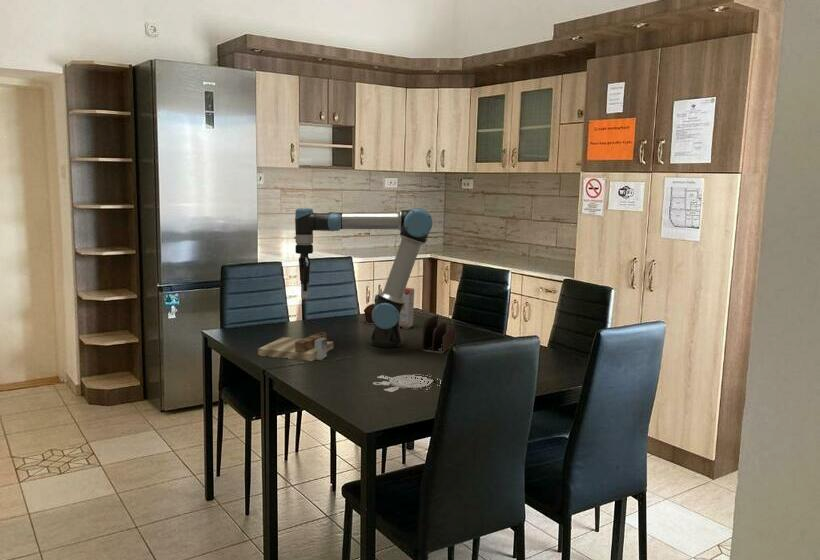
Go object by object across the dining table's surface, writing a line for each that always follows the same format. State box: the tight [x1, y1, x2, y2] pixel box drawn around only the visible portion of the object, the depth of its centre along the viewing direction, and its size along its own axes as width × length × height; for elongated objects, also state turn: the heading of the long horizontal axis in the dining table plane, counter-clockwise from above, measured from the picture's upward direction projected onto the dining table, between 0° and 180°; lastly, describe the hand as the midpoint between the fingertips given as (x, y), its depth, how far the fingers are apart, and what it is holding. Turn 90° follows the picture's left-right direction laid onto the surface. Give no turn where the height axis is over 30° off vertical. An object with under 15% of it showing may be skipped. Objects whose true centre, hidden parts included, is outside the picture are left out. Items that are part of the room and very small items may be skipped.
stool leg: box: [295, 331, 328, 352], centre depth 283 cm, size 21×4×5 cm, turn 159°
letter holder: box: [421, 315, 456, 351], centre depth 302 cm, size 10×20×14 cm, turn 161°
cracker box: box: [399, 287, 415, 327], centre depth 345 cm, size 14×6×21 cm, turn 62°
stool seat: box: [257, 336, 334, 362], centre depth 286 cm, size 24×24×3 cm
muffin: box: [363, 303, 375, 323], centre depth 355 cm, size 12×11×10 cm
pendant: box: [372, 373, 442, 393], centre depth 246 cm, size 21×28×1 cm
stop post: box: [314, 338, 328, 361], centre depth 276 cm, size 3×6×8 cm, turn 165°
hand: (304, 298), depth 291 cm, fingers closed
